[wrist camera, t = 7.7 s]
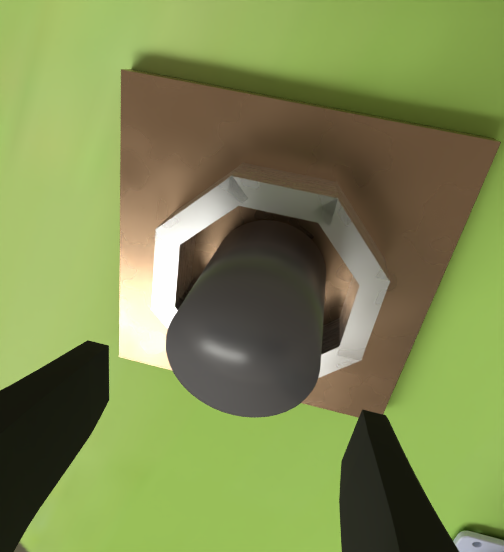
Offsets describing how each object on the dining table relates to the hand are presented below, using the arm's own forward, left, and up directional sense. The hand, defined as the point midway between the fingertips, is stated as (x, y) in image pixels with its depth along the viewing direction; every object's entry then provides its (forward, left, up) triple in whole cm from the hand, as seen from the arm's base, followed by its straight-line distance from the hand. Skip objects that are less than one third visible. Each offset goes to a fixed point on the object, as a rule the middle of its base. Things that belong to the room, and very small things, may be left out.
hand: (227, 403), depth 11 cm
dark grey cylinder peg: (0, 0, -8) cm, 8 cm away
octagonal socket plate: (0, 0, -9) cm, 9 cm away
